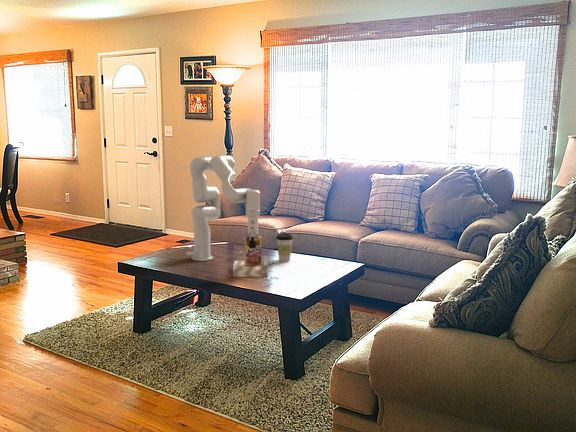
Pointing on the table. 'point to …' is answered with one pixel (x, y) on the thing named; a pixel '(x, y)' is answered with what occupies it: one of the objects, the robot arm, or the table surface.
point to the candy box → (252, 251)
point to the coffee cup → (284, 246)
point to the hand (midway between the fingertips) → (252, 246)
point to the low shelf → (250, 269)
